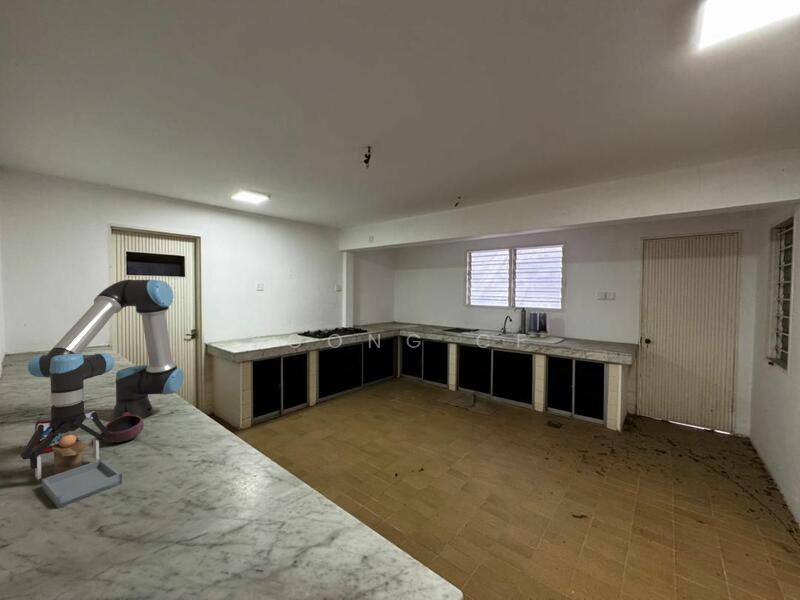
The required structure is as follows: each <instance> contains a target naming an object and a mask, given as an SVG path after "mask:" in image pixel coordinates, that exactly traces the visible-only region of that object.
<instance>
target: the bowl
mask: <svg viewBox="0 0 800 600" xmlns="http://www.w3.org/2000/svg"><path fill="white" fill-rule="evenodd" d="M104 426H105V428H106V429H107V430H108V431H109V433H110V434H109V435H108V436H105V437H104V439H103V440H104V441H106V442H109V443H122V442H125V441H130V440H132V439H134V438H136V437H138V436H139V434H140V433H141V432H142V431H143V430H144V427H145V425H144V418H143V419H142V418H141V417H139V416H136V415H131V414H130V413H129V412H125V413H123V414H122V416H121V417H118V418H116V419H114V420H112V421H109V422H107V424H105V425H104Z"/></svg>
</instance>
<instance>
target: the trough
mask: <svg viewBox="0 0 800 600" xmlns="http://www.w3.org/2000/svg"><path fill="white" fill-rule="evenodd" d="M89 449H90V446H89V445H87V444H85V443H84V442H82V441H81V440H79V438H78V437H76V442H75V443H74V444H73V445H72V446H70V447H61V446H60V445H59V443H58V444H54V445H52V450H54V451H53V469H54V470H53V472H54V474H53V475H56V474H59V473H62V472H65V471H68V470H71V469H74V468H77V467H80V466H83V452H84V451H87V450H89Z"/></svg>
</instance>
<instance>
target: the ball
mask: <svg viewBox="0 0 800 600" xmlns="http://www.w3.org/2000/svg"><path fill="white" fill-rule="evenodd" d="M76 438H77V437H76V435H75V434H73V433H67V434H65V435H62V437H61V438H60V440H59V445H60V446H61V447H70V446H72V445H73V444H74V443H75V442H76Z"/></svg>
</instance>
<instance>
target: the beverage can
mask: <svg viewBox="0 0 800 600" xmlns="http://www.w3.org/2000/svg"><path fill="white" fill-rule="evenodd" d="M50 421H51V414H50V415H46V416H42V417H40V418H38V419H37V420H36V423H35V424H34V432H35V431H36V425H37V424H38V423H41V424H45V423H50ZM51 430H52V428H51V427H48V428H47V429H46V430H45V431H43V434H42V436H41V437H40V439H39V441H38V442H37V444H36V445H35V447H34V448H36V447H37V446H38V445H39V444H40V443H41V442H42V441H43V440H44V439H45V437H46V436H47V435H48V434H49V432H50V431H51ZM61 437H63V434H62V433H59V434H58V436H57V437H55V438H54V439H53V440H52V441H51V442H50V443H49V445H48V446H47V447H46V448H45V449H44V450H43V451H42V452H41V453H40V454H45V453H46V454H47V453H50V452H54V450H52V445H54V444H58V443H59V440H60V438H61Z"/></svg>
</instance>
